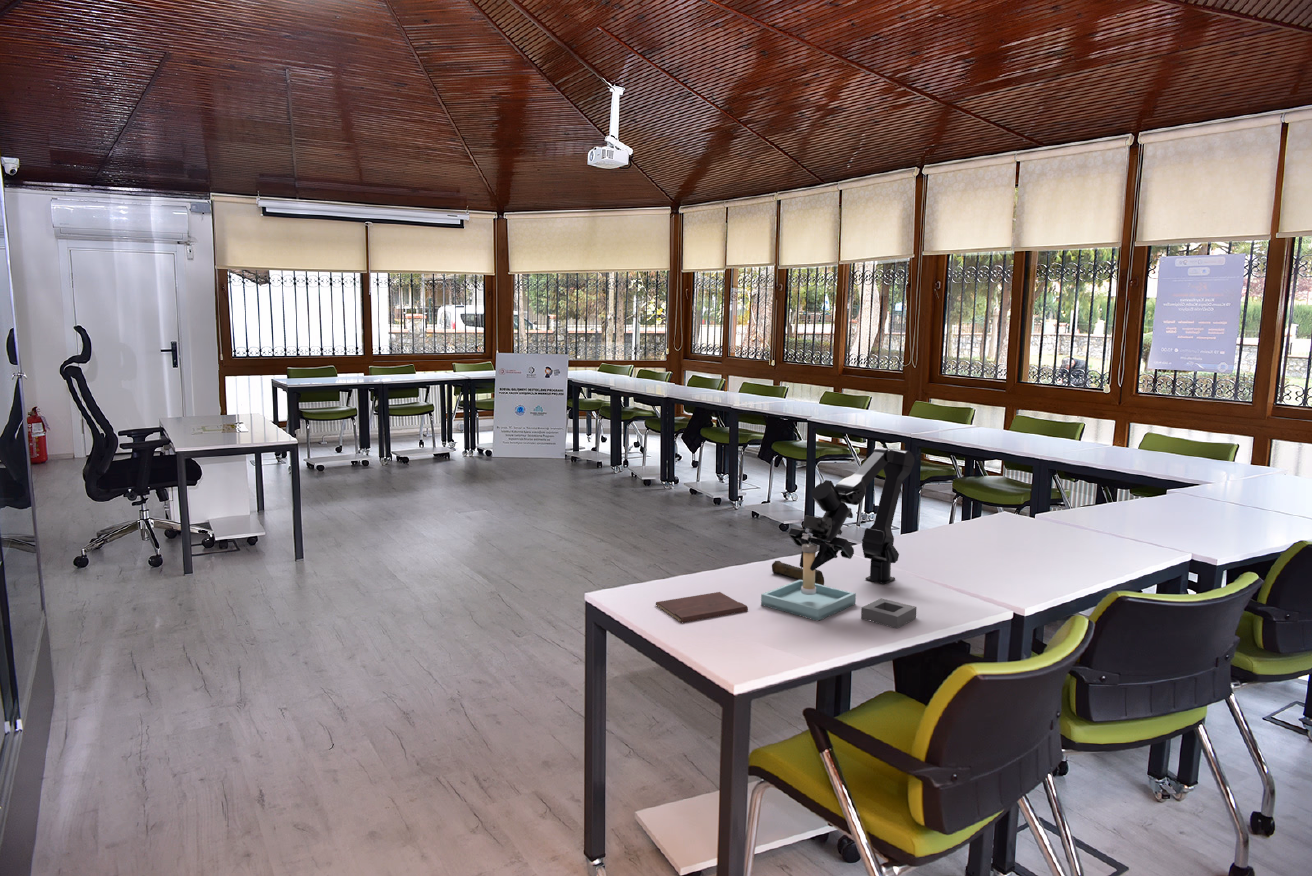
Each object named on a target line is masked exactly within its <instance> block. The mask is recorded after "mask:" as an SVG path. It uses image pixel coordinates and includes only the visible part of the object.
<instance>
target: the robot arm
mask: <svg viewBox="0 0 1312 876" xmlns="http://www.w3.org/2000/svg"><path fill="white" fill-rule="evenodd" d="M915 460H916V459H915V456H914V455H913V453H912V452H911V450H904V449H895V448H887V447H879V446H878V447H875V448H874V449H873V451H872V454H870V456H869V457H868V458H867V459H866V460H865V461H864V462H863V463H862V464H861V465H860V466H859V467H858V469H857V470H856V471H855V472H854V473H853V474H852V475H850V476H847V477H844V478H843V479H841V480H840V481H838V482H837V483H836V484H835V485H834V482H832V480H828V479H824V481H823V482H822V483H819V484H817V485H816V486H815V487H813V489H811V497H812V498H813V500H814V501H815V502H816V504H817V505H818V507H819V508H820V510H822V511H823V512H824V514H823V515H822V516H819V517H816V516H811V515H807V514H806V515H804V520H803V522H802V528H798V527H792V528H790V529H789V531H788V533H787V536H788V537H789V538H790V539H791V540H792V542H793V543H794V544H795V545H796V546H797V547H800V548H802V545H803V544H815V545H817V546H819V549H818V551H817V554H816V555H815V559H814V561H813V563H812V565H811V567H810V569H811V571H813V570H815V569H816V570H817V569H818V568H820V567H821V566H822V565H825V564H826V563H827V562H829V561H831V560H833V559H837V558H838V553H839V552H840V556H841V557H842V558H844V559H848V560H851V559H852V557H853V556H854V554H855V549H854V547H853V545H851V543H850V541H848V539H847V538H842V537H838V535H840V536H841V535H842V533H843V531H842V527H843V525H844V524H845V522H846V520H847V518H849V519H853V518H854V514H853V512H852V508H851V507H849V506H848V505H853V506H854V505H855V506H859V505H860V503H861V502H862V501H863V499H864V498H865V496H866V494H867V487H868V486H869V485H870V483H871V482H872V481H873V480H874V479H875V478H876V476H877V475H879V474H880V472H881V471H882V470H883V473H884V475H885V479H884V482H883V486H882V490H881V494H880V498H879V503H878V507H877V510H876V514H875V518H874V522H873V525H871V527H866V528H865V529H864V531H863V532H864V534H863V537H862V539H861V541H862V542H861V548H862V552H863V556H864V557H863V558H865V559H870V569H869V576H867V577H864V578H865V580H867V581H870V582H875V583H879V584H883V585H885V584H888V583H890V582H892V581H894V580H896V577H894V576H891V575H892V574H891V571H892V570H891V569H892V564H895V563H896V562H898V561H899V556H900V553H899V552H898V550H897V549H896V547H895V545H894V542H895V537H894V534H893V531H892V526H893V521H894V517H895V513H896V509H897V506H898V505H897V504H898V501H899V497H900V493H901V489H902V485H903V482H904V480H905V479H907V477H909V475H910V474H911V472H912V469H913V467H914V465H915ZM803 528H807V529H808V533H807V532H806V530H805V529H803ZM809 533H810V534H812V535H810V534H809ZM799 568H802V569H803V552H802V551H801V554H800V561H799Z"/></svg>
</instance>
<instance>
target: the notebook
mask: <svg viewBox="0 0 1312 876" xmlns="http://www.w3.org/2000/svg"><path fill="white" fill-rule="evenodd" d="M656 605H657V606H659V607H660V608H661V609H660V608H659V607H658V608H659V609H660V610H662V609H663V610H664V612H665V611H666V612H667V613H666V612H665V613H666V614H668V613H669V614H670V615H669V614H668V615H669V616H671V615H672V616H673V617H672V616H671V617H672V618H674V617H675V618H676V619H675V618H674V619H675V620H677V621H678V620H679V621H678V622H680V621H681V622H680V624H685V623H690V622H695V621H700V620H706V619H713V618H718V617H722V616H724V617H725V616H728V615H734V614H740V613H746V612H748V611H749V609H748V606H747V605H746V604H744V603H743V602H739V601H737V600H736V599H734V598H732V597H730V596H729V595H727V594H725V593H723V592H721V591H716V592H712V593H704V594H699V595H692V596H686V597H684V596H683V597H679V598H673V599H666V600H660V601H656V602H655V606H656ZM657 606H656V607H657ZM663 610H662V611H663ZM682 622H683V623H682ZM684 622H685V623H684Z"/></svg>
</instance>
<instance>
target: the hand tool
mask: <svg viewBox="0 0 1312 876" xmlns="http://www.w3.org/2000/svg"><path fill="white" fill-rule="evenodd" d="M771 571H772V573H773V574H777V575H778V574H780V575H782V576H783V575H784V576H788V577H790V578H795V579H797V580H803V568H801V567H800V566H799V567H798V566H794V565H791V564H789V563H788V564H787V563H785V562H782V561H781V560H775V561H773V563H772V564H771ZM815 583H816V584H820V585H824V586H825V577H824V574H823V572H822V570H820V569H817V568H816V569H815Z"/></svg>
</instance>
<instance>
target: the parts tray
mask: <svg viewBox="0 0 1312 876" xmlns="http://www.w3.org/2000/svg"><path fill="white" fill-rule="evenodd" d="M801 586H803V580H801V579H797V580H795V581H792V582H790V583H787V584H785V585H781V586H778V587H776V588H774V589H772V590H768V591H767V592H766V591H765V592H763V593H761V597H760V598H761V599H760V600H761V601H760V605H761V606H764V607H767V606H768V607H767V608H770V607H771V609H774V610H777V611H781V612H784V611H786V612H785V613H788V612H789V613H788V614H792V615H795V616H798V615H801V616H800V617H802V616H804V617H803V618H805V617H807V618H806V619H809V618H811V619H810V620H812V621H816V620H820V621H822V620H824V619H826V618H828V617H830V616H832V614H833V615H834V614H837V613H839V612H841V611H844V610H846V609H848V608H850V607H852V606H854V604H855V605H856V603H857V602H856V599H857V598H856V597H857V595H856V592H852V591H848V590H844V589H840V588H836V587H831V586H826V585H825V584H824V585H820V584H816V583H815V587H816V594H814V595H805V594H802V593H801ZM849 606H850V607H849ZM845 608H846V609H845ZM838 611H839V612H838ZM829 615H830V616H829ZM827 616H828V617H827ZM825 617H826V618H825ZM823 618H824V619H823ZM821 619H822V620H821Z"/></svg>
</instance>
